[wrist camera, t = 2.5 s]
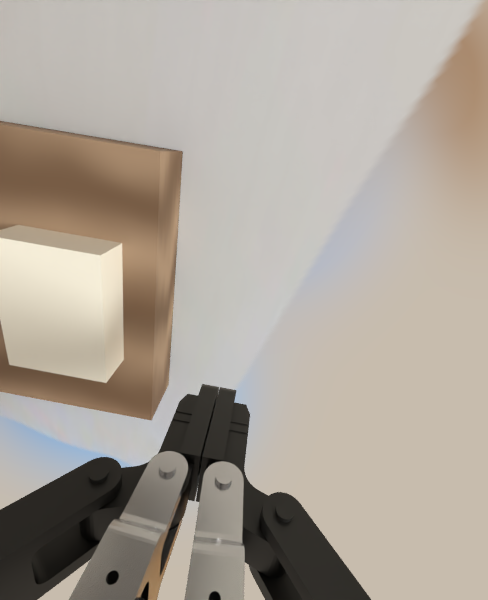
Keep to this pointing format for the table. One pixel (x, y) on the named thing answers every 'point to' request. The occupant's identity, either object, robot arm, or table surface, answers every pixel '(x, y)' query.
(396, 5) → the table surface
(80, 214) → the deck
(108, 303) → the tile
